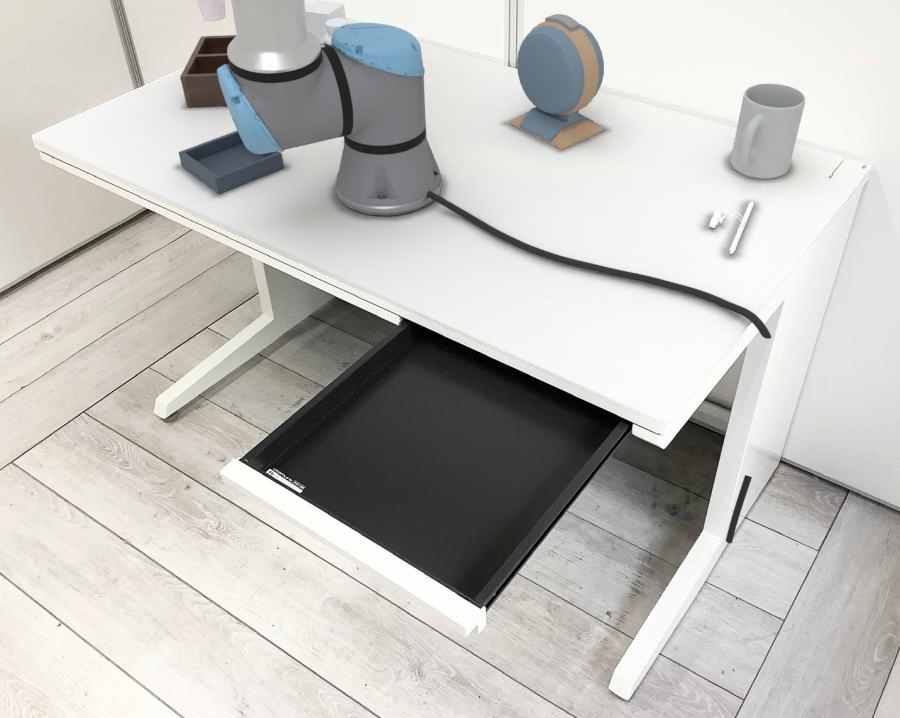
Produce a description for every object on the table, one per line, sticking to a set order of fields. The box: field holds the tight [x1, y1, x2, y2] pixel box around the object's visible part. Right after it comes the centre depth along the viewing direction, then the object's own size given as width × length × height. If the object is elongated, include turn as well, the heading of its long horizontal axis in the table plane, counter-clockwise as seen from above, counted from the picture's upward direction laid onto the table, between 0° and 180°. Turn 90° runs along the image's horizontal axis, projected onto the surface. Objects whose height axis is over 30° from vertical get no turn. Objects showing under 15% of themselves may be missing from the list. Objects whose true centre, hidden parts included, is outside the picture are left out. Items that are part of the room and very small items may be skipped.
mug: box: [730, 83, 806, 180], centre depth 128 cm, size 12×8×11 cm
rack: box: [179, 34, 237, 108], centre depth 158 cm, size 18×10×6 cm, turn 1°
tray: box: [178, 130, 285, 195], centre depth 136 cm, size 11×11×2 cm
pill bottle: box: [323, 18, 349, 47], centre depth 161 cm, size 5×5×9 cm
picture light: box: [708, 200, 755, 255], centre depth 120 cm, size 14×4×2 cm, turn 155°
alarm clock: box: [508, 13, 606, 151], centre depth 138 cm, size 14×10×18 cm
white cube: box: [305, 0, 347, 45], centre depth 174 cm, size 6×6×6 cm
